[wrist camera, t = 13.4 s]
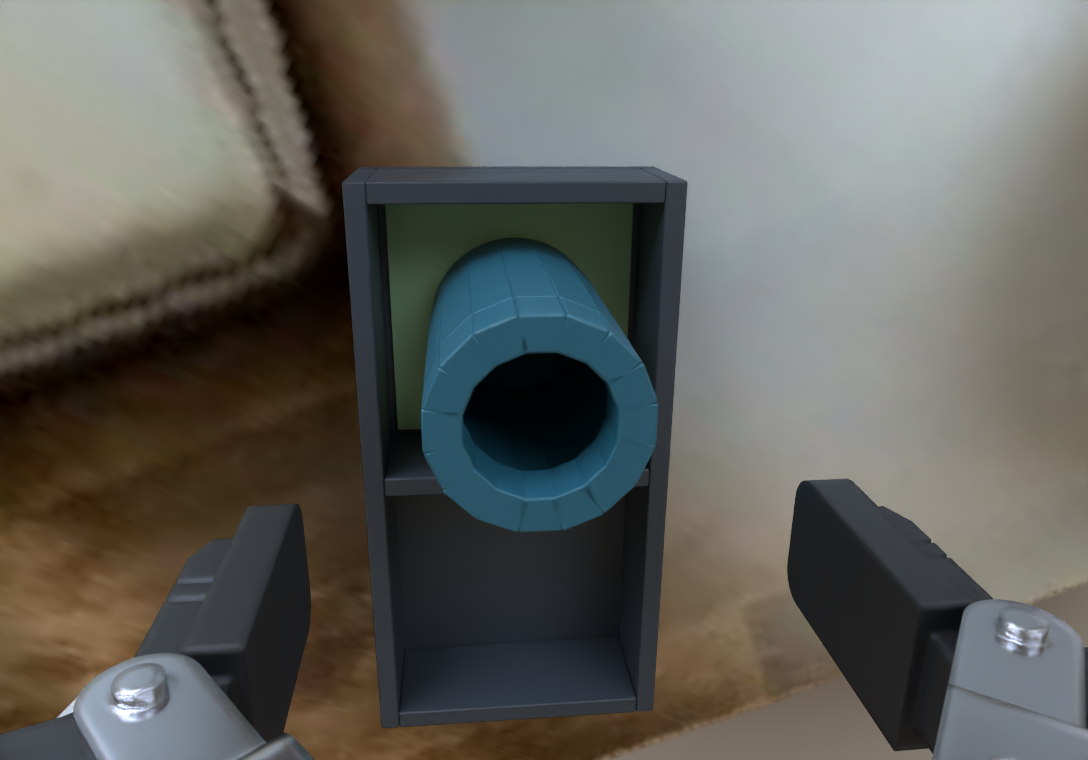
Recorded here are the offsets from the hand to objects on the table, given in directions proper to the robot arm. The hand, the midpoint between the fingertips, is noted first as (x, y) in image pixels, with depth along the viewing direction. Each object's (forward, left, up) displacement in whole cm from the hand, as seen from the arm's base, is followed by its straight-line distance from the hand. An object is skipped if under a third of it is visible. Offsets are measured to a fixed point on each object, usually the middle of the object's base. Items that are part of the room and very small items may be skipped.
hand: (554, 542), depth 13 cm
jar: (0, 0, -14) cm, 14 cm away
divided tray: (0, -4, -15) cm, 15 cm away
